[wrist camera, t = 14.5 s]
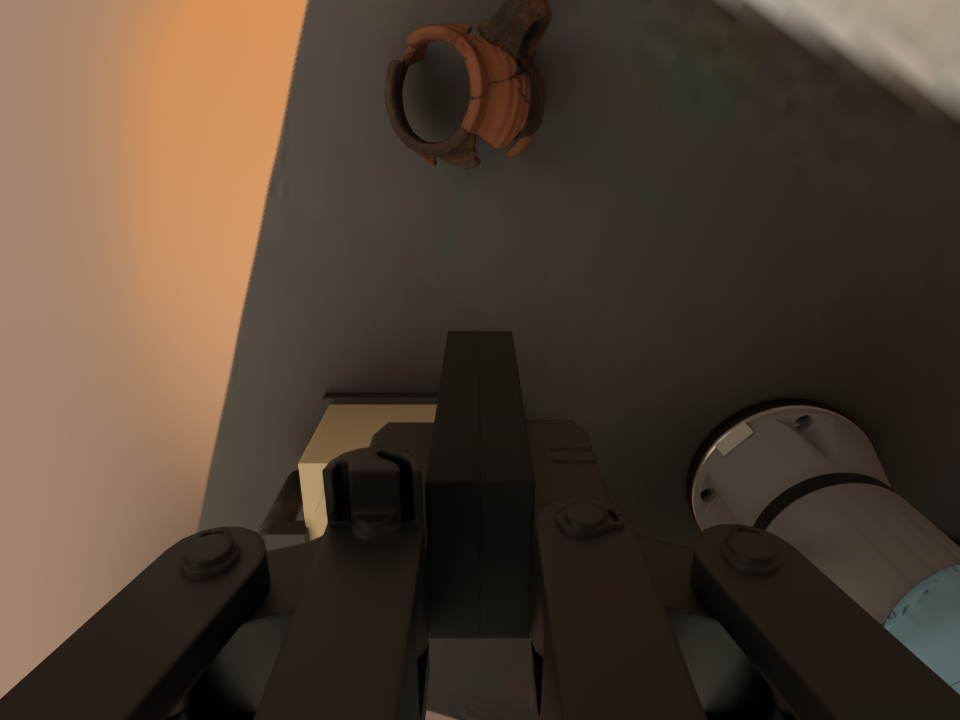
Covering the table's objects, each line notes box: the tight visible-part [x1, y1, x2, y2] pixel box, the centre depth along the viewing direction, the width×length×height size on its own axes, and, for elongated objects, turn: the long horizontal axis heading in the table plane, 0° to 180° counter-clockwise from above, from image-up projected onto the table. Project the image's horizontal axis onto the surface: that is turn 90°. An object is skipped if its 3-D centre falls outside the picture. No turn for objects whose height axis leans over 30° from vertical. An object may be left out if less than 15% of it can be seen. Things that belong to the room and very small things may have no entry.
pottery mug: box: [385, 0, 552, 169], centre depth 40 cm, size 12×10×8 cm
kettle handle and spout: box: [258, 393, 439, 551], centre depth 47 cm, size 20×13×11 cm, turn 90°
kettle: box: [298, 405, 437, 541], centre depth 47 cm, size 13×12×12 cm
